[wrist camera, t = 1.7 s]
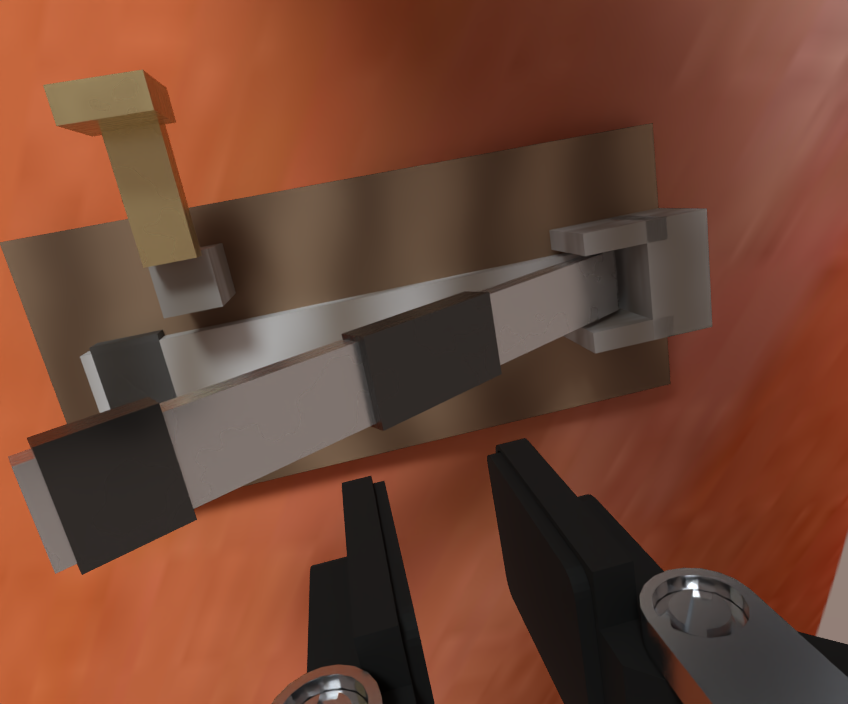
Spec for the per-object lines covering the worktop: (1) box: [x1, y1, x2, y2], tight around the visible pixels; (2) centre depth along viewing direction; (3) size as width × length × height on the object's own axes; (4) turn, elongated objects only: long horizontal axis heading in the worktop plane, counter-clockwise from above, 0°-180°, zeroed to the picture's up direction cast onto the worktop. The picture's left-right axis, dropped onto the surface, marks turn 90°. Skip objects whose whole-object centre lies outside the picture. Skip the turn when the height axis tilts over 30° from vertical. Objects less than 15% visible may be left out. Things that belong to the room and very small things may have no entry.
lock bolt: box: [43, 70, 202, 268], centre depth 21 cm, size 6×3×4 cm, turn 11°
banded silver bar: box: [8, 250, 620, 575], centre depth 22 cm, size 26×4×1 cm, turn 102°
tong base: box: [0, 123, 712, 487], centre depth 28 cm, size 31×14×6 cm, turn 101°
